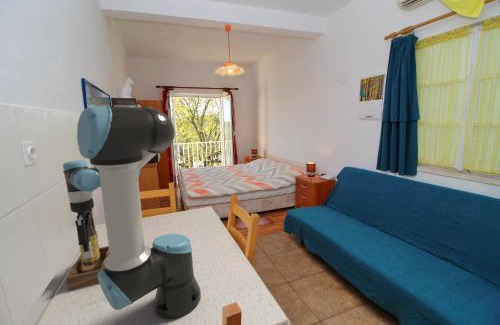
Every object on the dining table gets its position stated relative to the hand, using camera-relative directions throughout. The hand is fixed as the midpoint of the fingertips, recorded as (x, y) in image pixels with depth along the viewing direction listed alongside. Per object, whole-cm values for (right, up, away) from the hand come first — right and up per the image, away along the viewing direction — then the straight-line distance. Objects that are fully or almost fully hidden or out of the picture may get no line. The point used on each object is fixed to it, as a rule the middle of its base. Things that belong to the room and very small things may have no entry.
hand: (90, 253), depth 95 cm
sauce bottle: (0, -4, +1) cm, 4 cm away
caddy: (+5, -8, +3) cm, 10 cm away
